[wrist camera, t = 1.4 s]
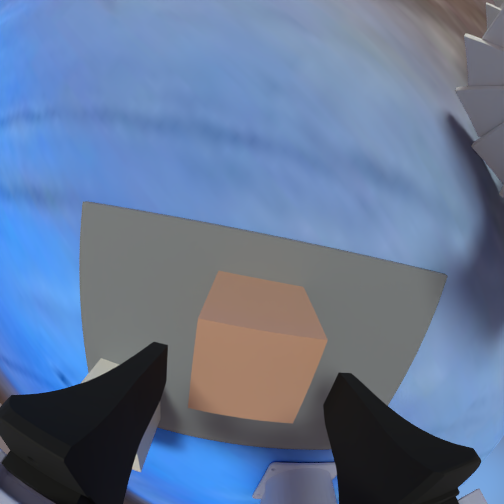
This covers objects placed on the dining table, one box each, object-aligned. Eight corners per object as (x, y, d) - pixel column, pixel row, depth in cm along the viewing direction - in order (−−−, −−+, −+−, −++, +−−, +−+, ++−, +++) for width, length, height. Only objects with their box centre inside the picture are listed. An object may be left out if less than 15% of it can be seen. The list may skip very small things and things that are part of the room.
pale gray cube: (160, 418, 19) (140, 472, 13) (107, 400, 19) (79, 447, 13) (160, 377, 18) (133, 436, 12) (100, 358, 17) (63, 406, 12)
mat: (357, 444, 20) (358, 447, 20) (97, 402, 19) (95, 405, 19) (443, 273, 16) (447, 275, 16) (86, 201, 15) (82, 202, 15)
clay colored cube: (282, 356, 17) (292, 423, 11) (206, 343, 17) (187, 407, 11) (303, 286, 16) (327, 339, 10) (218, 270, 16) (198, 318, 10)
